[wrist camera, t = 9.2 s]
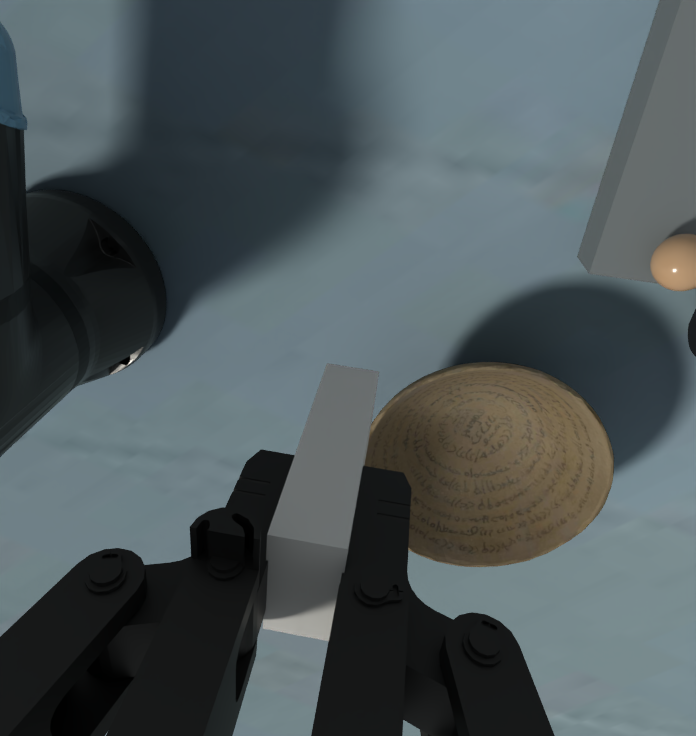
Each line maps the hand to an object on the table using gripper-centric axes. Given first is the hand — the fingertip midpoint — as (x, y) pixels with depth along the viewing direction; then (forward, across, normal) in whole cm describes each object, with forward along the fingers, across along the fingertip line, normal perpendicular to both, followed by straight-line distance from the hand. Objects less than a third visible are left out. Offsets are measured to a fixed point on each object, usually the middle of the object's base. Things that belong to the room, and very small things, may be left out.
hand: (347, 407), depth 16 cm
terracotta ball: (+23, +18, 0) cm, 29 cm away
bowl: (+27, +9, -17) cm, 33 cm away
